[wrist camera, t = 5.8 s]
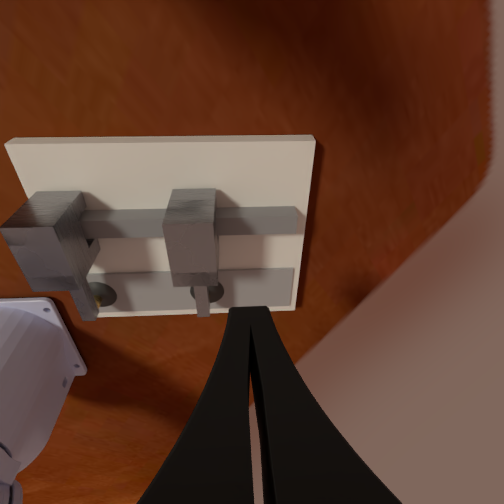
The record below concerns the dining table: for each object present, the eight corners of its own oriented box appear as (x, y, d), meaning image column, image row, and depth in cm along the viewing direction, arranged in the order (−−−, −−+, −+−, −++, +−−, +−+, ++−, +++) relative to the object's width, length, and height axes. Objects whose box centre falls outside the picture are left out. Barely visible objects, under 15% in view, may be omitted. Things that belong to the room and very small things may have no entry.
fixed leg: (117, 298, 23) (101, 341, 20) (82, 299, 23) (60, 343, 20) (81, 190, 18) (52, 227, 15) (36, 191, 18) (-2, 228, 15)
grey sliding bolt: (222, 295, 24) (221, 337, 21) (188, 296, 23) (182, 338, 21) (215, 188, 19) (213, 223, 16) (172, 189, 18) (161, 224, 16)
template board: (292, 300, 26) (297, 322, 24) (86, 307, 25) (75, 330, 24) (312, 134, 18) (320, 148, 17) (14, 137, 18) (-10, 152, 16)
